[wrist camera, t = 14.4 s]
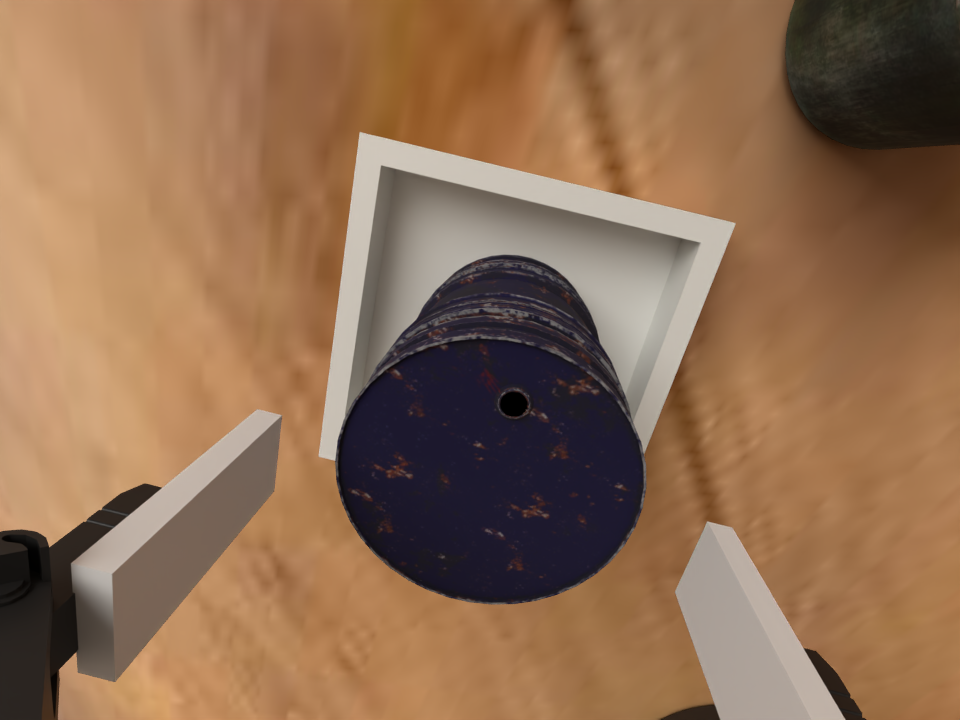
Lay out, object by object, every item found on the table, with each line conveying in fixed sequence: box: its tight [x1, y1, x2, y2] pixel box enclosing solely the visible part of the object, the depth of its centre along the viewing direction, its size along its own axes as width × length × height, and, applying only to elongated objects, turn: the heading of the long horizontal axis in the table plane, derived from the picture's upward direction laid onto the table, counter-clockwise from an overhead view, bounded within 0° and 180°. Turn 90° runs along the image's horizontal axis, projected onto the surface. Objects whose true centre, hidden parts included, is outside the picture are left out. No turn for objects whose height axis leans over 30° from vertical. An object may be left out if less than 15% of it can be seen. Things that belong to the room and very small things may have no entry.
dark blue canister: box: [335, 255, 646, 604], centre depth 23 cm, size 10×10×15 cm
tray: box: [319, 132, 736, 461], centre depth 29 cm, size 18×18×4 cm
